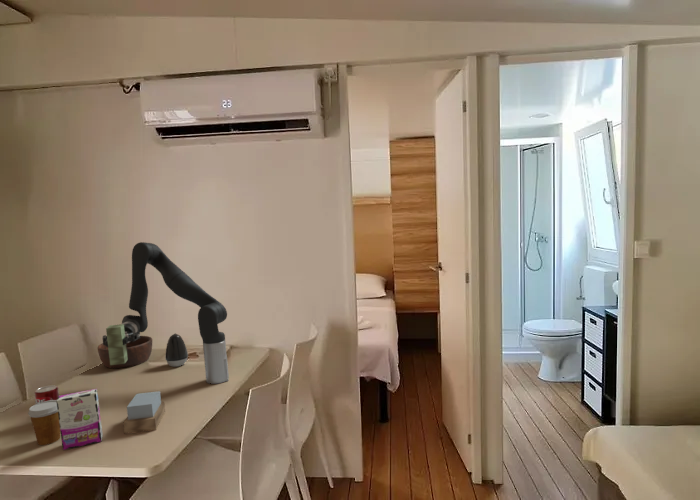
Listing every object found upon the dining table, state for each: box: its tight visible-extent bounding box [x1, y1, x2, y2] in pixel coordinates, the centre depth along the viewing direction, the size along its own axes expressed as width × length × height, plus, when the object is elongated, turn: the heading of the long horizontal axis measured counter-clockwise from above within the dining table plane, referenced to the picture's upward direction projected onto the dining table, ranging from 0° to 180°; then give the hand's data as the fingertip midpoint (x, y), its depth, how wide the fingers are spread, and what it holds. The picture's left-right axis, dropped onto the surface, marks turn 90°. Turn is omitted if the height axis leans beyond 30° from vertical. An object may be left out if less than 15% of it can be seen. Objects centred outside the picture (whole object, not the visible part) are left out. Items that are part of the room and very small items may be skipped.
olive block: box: [105, 323, 128, 365], centre depth 181 cm, size 5×5×14 cm
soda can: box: [34, 384, 60, 404], centre depth 174 cm, size 7×7×12 cm
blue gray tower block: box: [126, 391, 162, 420], centre depth 167 cm, size 8×12×4 cm, turn 9°
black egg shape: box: [164, 333, 189, 368], centre depth 230 cm, size 10×10×15 cm
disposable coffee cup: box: [27, 400, 61, 446], centre depth 158 cm, size 10×10×12 cm
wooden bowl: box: [96, 335, 153, 369], centre depth 241 cm, size 25×25×10 cm
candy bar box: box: [57, 388, 104, 451], centre depth 154 cm, size 11×5×16 cm, turn 114°
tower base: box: [123, 401, 166, 435], centre depth 168 cm, size 10×15×4 cm, turn 10°
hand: (115, 343), depth 179 cm, fingers closed on olive block, 5 cm apart
